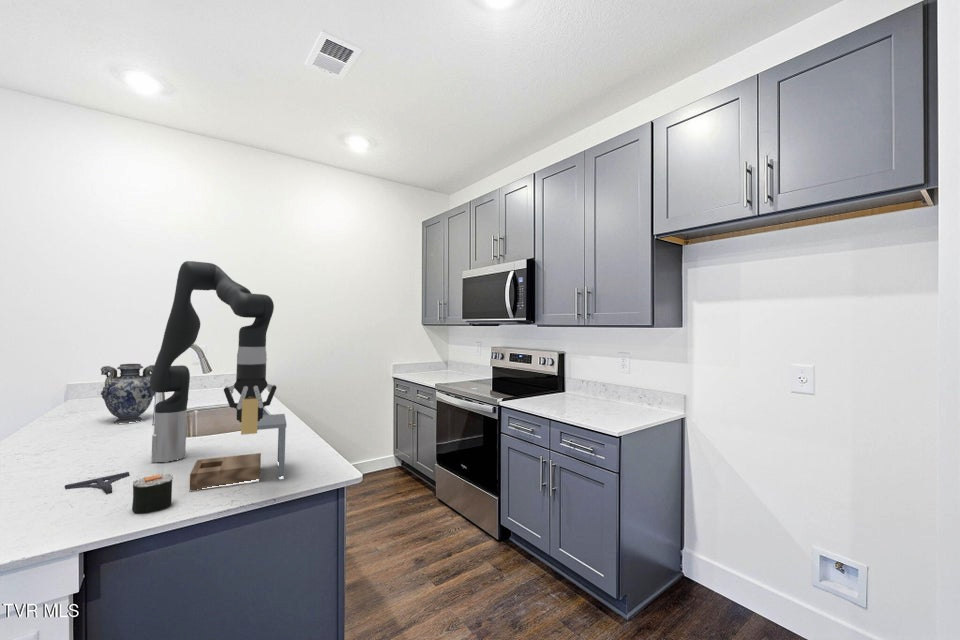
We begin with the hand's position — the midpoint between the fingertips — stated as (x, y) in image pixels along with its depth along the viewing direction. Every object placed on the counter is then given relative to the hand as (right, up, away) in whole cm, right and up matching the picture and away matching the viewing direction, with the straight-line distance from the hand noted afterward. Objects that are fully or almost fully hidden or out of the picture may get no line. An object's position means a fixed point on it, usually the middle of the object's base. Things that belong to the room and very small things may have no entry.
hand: (249, 420), depth 120 cm
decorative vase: (-104, -20, +81) cm, 134 cm away
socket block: (-13, -21, +10) cm, 26 cm away
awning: (-4, -21, +15) cm, 26 cm away
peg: (0, -3, 0) cm, 3 cm away
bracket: (-44, -21, +2) cm, 49 cm away
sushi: (-20, -20, -11) cm, 30 cm away
